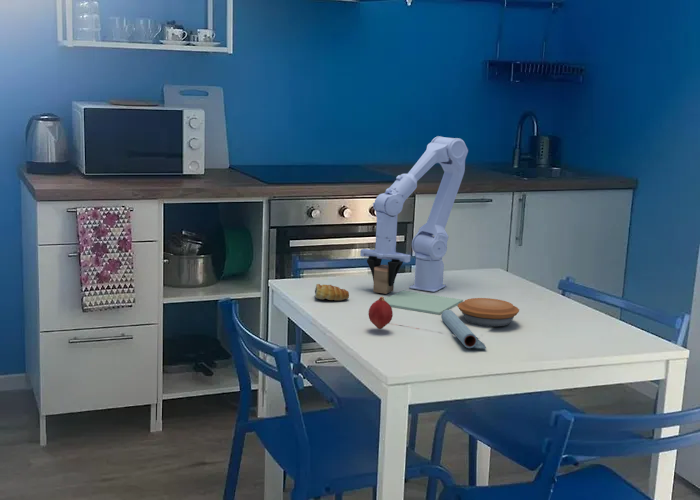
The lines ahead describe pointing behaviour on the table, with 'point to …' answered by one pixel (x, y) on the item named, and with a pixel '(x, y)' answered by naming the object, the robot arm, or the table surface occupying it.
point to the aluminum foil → (461, 330)
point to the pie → (488, 311)
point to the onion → (380, 313)
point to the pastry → (330, 292)
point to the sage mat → (422, 302)
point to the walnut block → (382, 279)
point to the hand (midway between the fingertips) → (383, 284)
